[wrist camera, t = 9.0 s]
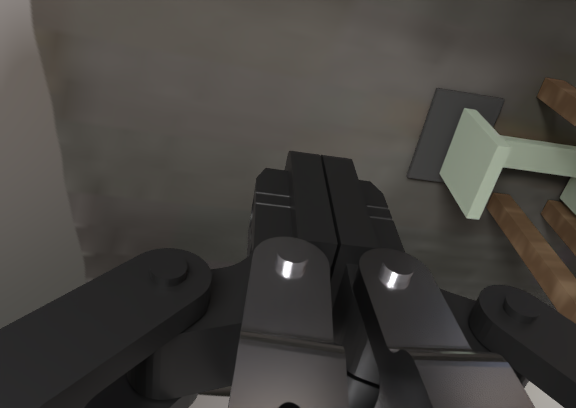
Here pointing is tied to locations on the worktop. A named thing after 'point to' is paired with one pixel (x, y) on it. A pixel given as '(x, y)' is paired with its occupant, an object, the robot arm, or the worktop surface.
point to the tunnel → (523, 234)
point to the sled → (499, 162)
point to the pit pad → (446, 129)
